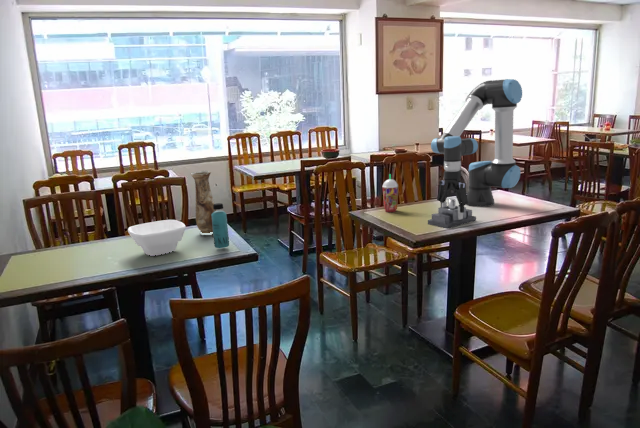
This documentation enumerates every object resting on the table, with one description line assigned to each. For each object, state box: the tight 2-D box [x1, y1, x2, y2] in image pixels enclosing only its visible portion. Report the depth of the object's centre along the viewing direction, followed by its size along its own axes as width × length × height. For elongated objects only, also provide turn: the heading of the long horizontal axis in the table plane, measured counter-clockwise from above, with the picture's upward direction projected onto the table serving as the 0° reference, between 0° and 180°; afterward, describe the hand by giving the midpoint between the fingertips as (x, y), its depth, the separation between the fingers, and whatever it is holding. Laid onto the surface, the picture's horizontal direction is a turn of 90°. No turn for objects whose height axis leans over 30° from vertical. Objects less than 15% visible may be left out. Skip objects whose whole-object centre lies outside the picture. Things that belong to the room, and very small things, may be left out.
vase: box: [190, 170, 217, 233], centre depth 235 cm, size 10×11×30 cm
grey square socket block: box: [437, 205, 467, 221], centre depth 233 cm, size 9×9×5 cm
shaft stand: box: [427, 198, 477, 230], centre depth 233 cm, size 20×12×11 cm, turn 125°
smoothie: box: [382, 173, 399, 213], centre depth 261 cm, size 8×8×20 cm
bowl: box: [127, 219, 187, 257], centre depth 209 cm, size 22×22×12 cm
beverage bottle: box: [211, 202, 230, 249], centre depth 208 cm, size 6×7×20 cm
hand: (452, 217), depth 233 cm, fingers open, 9 cm apart
